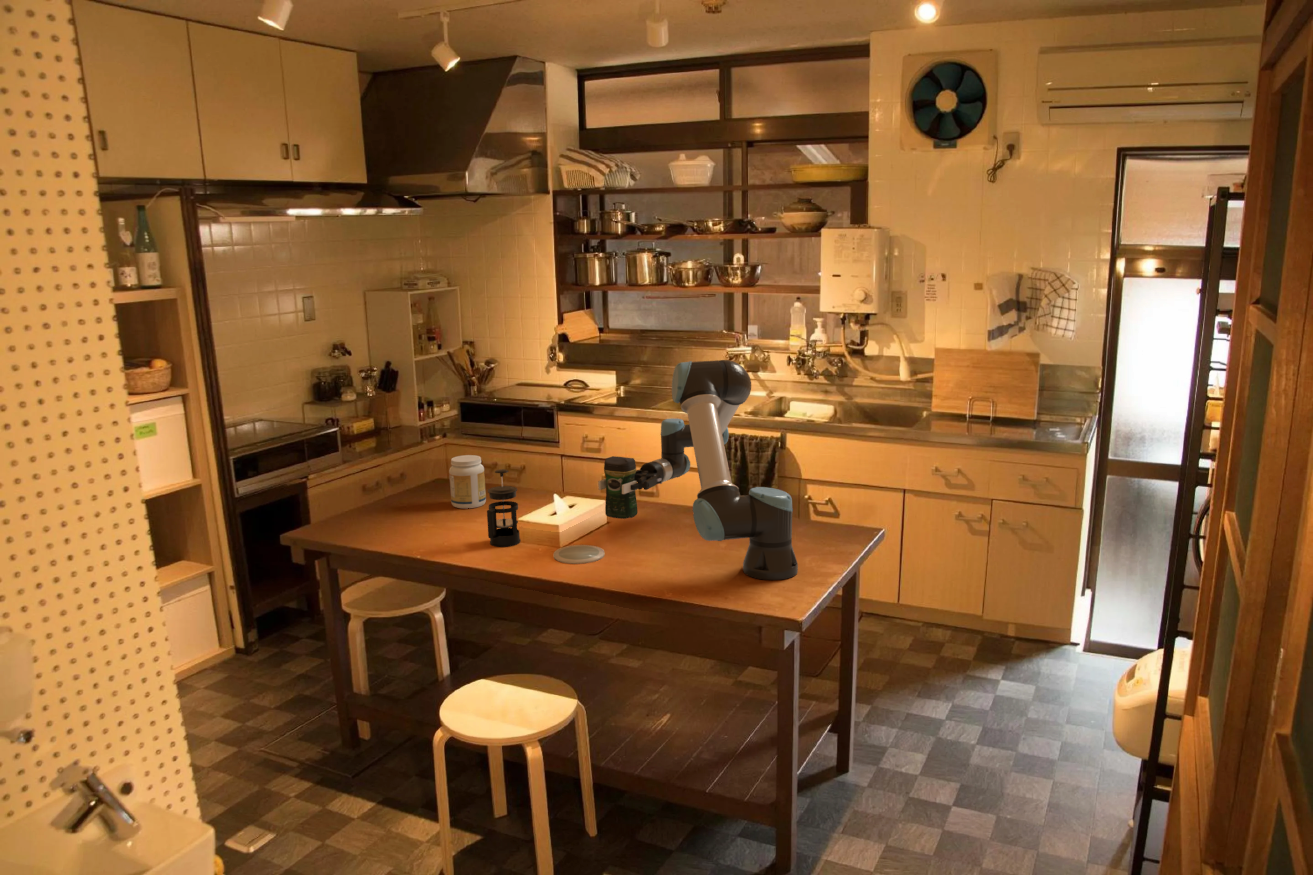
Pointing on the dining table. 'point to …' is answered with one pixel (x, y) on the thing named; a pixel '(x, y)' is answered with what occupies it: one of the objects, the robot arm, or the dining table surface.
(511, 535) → the french press
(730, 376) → the robot arm
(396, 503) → the dining table surface
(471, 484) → the supplement tub
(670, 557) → the dining table surface
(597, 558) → the grey plate
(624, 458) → the coffee jar
